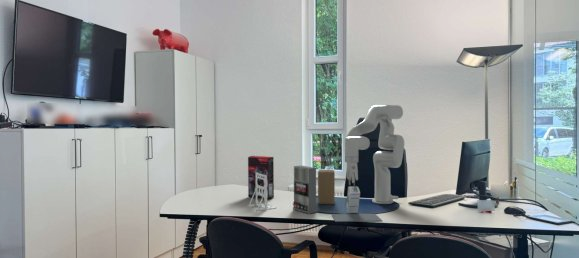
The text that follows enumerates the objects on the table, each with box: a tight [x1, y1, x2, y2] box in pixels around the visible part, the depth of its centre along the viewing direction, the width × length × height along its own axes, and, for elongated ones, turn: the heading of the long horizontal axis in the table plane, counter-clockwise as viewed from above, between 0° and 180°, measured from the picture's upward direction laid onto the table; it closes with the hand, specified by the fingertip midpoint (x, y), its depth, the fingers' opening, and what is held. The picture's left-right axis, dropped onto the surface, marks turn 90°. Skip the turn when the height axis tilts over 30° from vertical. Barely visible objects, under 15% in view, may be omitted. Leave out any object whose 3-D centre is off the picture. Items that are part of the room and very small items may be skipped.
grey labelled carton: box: [292, 165, 318, 215], centre depth 225 cm, size 14×6×25 cm, turn 37°
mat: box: [331, 213, 383, 223], centre depth 209 cm, size 24×14×1 cm, turn 92°
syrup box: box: [345, 185, 361, 214], centre depth 218 cm, size 6×6×14 cm
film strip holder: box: [246, 173, 278, 212], centre depth 234 cm, size 14×14×20 cm
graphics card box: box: [247, 155, 275, 200], centre depth 262 cm, size 17×7×27 cm, turn 58°
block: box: [317, 169, 336, 205], centre depth 245 cm, size 10×10×20 cm
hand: (351, 192), depth 221 cm, fingers closed
